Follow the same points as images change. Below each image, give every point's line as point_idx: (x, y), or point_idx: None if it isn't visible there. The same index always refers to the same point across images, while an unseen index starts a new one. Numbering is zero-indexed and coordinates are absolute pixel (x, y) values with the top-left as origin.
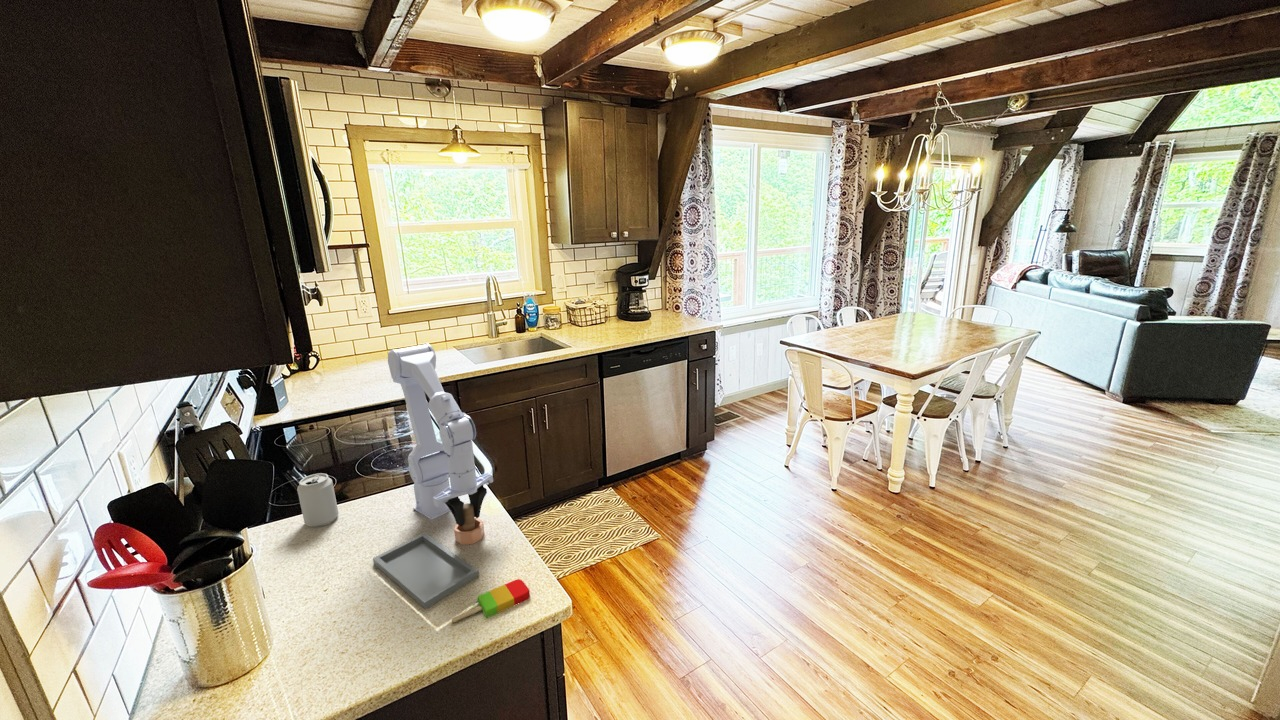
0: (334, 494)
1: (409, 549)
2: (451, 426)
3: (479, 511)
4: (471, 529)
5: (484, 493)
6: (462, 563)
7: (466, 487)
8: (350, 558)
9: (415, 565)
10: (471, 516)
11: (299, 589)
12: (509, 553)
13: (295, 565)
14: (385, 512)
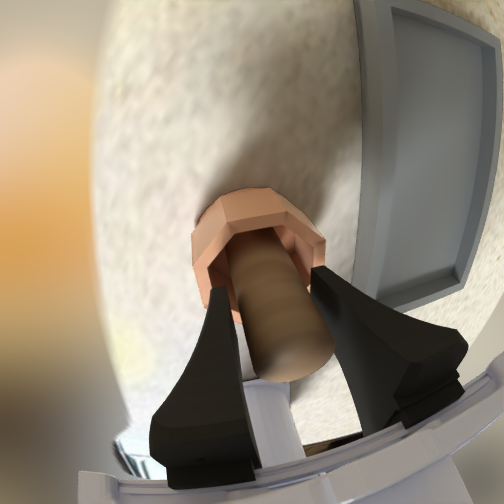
0: (386, 447)
1: (401, 287)
2: None
3: (213, 309)
4: (264, 243)
5: (180, 420)
6: (393, 68)
7: (433, 500)
8: (443, 320)
9: (436, 210)
10: (275, 290)
11: (499, 281)
12: (175, 22)
13: (466, 336)
14: (326, 413)
